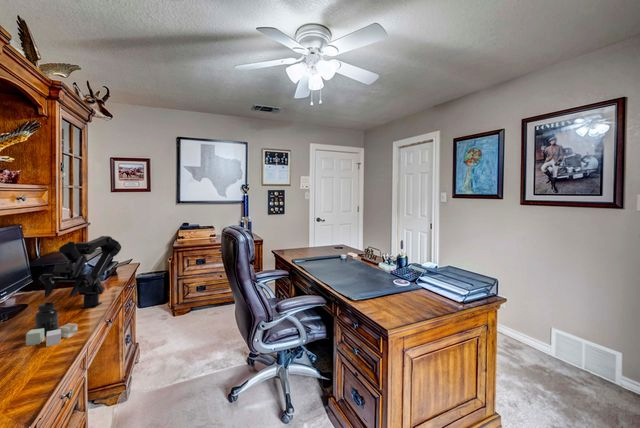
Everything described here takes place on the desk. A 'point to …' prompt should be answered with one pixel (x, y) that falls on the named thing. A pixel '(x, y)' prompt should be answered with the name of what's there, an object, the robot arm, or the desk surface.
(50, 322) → the supplement bottle
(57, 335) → the grey plastic block
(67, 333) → the birch block
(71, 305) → the desk surface
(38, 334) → the sage block
